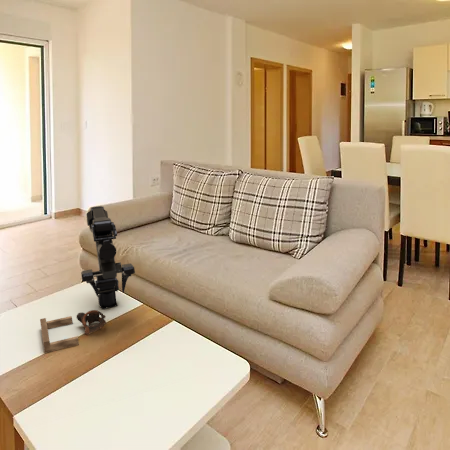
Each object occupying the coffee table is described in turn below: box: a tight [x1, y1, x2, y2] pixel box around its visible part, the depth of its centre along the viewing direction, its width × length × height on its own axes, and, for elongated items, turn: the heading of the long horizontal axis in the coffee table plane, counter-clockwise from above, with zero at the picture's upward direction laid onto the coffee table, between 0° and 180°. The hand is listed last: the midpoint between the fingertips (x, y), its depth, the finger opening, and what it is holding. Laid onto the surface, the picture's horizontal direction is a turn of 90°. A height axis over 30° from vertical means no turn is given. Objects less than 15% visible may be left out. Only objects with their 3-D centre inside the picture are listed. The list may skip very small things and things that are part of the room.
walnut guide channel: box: [39, 315, 80, 354], centre depth 152 cm, size 11×19×4 cm, turn 26°
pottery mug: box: [76, 309, 107, 336], centre depth 156 cm, size 12×10×8 cm
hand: (110, 294), depth 157 cm, fingers open, 9 cm apart
